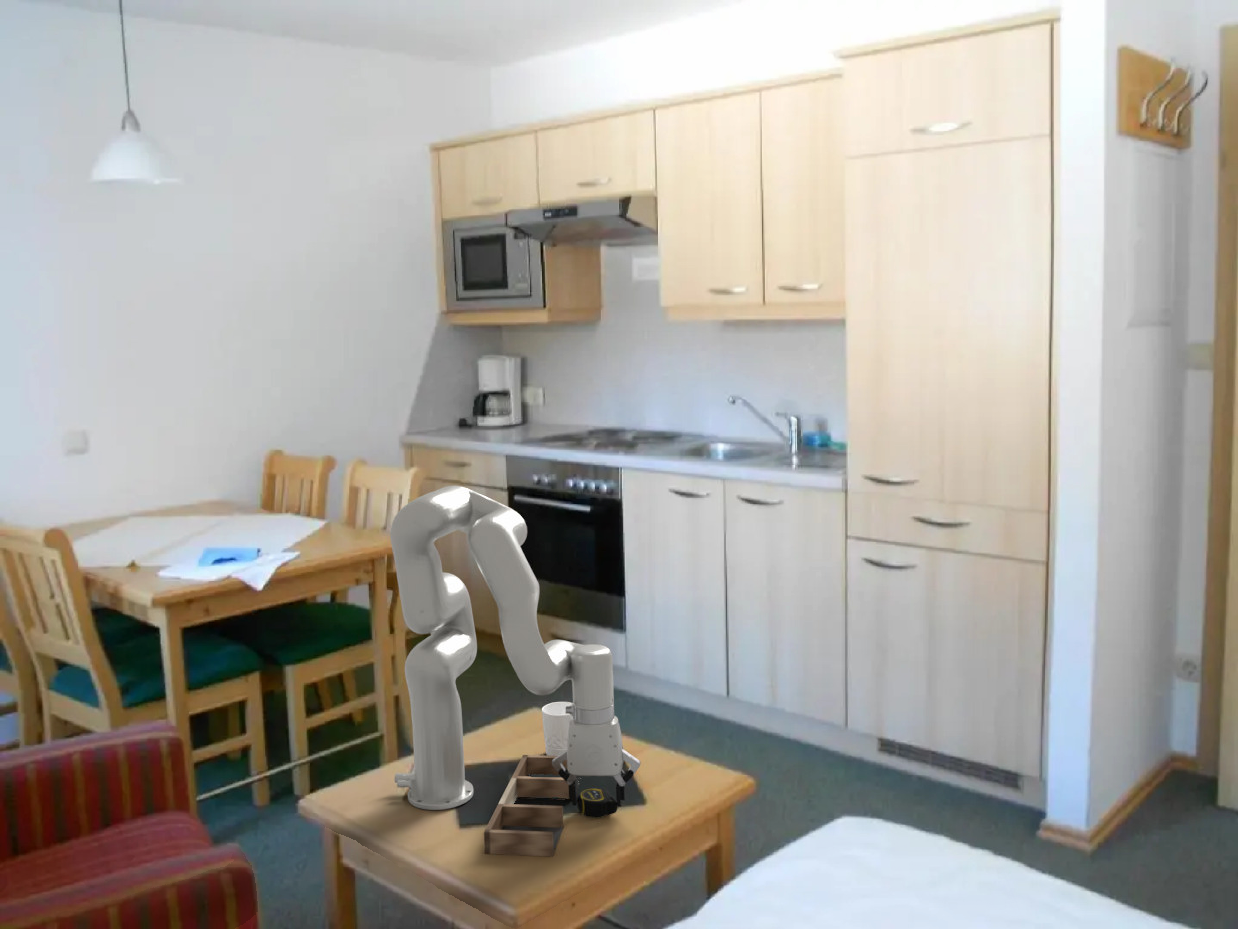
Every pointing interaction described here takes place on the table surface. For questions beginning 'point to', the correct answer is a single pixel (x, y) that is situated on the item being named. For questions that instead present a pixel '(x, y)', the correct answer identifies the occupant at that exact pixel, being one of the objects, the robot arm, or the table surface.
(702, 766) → the table surface
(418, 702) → the robot arm
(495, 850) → the wooden wall shelf
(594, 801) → the tape measure
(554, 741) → the white cup
